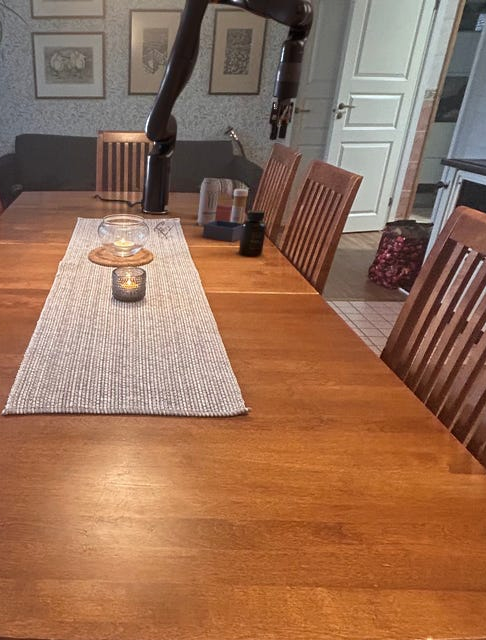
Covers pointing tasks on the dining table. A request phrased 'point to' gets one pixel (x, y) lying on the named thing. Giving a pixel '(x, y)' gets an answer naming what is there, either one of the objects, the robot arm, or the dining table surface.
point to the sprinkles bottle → (239, 205)
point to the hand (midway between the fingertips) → (277, 139)
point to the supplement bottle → (252, 234)
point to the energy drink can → (208, 201)
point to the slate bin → (222, 230)
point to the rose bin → (223, 213)
